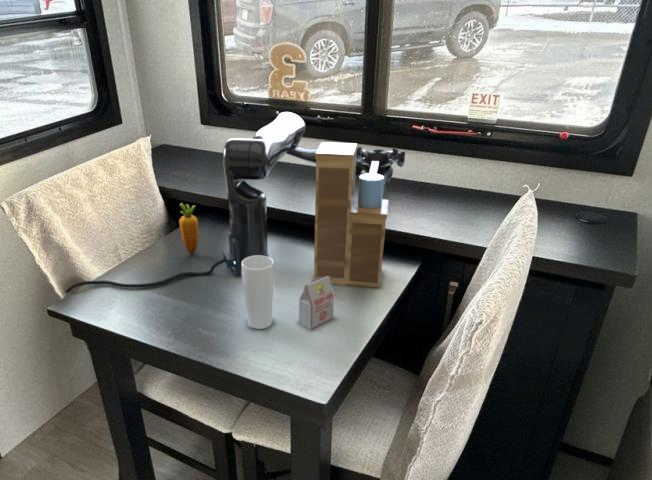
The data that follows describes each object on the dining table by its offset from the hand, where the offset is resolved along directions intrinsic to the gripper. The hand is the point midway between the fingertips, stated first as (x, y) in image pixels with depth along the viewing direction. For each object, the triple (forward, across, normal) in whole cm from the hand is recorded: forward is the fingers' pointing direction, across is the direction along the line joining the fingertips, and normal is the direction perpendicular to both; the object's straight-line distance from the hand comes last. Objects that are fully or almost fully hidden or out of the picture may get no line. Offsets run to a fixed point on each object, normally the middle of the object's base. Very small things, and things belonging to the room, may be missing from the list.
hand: (376, 150), depth 138 cm
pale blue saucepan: (+5, 0, +12) cm, 13 cm away
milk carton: (+20, -9, +43) cm, 48 cm away
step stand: (+2, -4, +32) cm, 32 cm away
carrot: (-2, -47, +30) cm, 56 cm away
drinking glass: (+23, -21, +45) cm, 55 cm away
